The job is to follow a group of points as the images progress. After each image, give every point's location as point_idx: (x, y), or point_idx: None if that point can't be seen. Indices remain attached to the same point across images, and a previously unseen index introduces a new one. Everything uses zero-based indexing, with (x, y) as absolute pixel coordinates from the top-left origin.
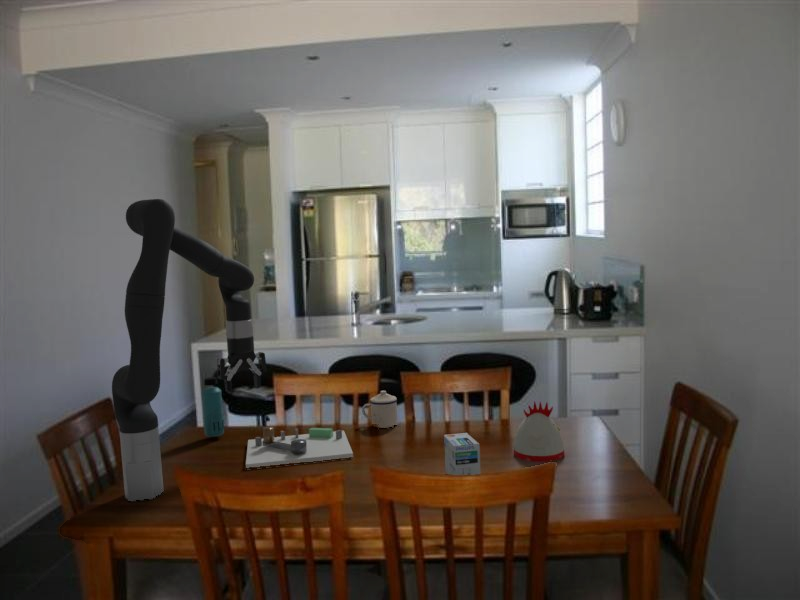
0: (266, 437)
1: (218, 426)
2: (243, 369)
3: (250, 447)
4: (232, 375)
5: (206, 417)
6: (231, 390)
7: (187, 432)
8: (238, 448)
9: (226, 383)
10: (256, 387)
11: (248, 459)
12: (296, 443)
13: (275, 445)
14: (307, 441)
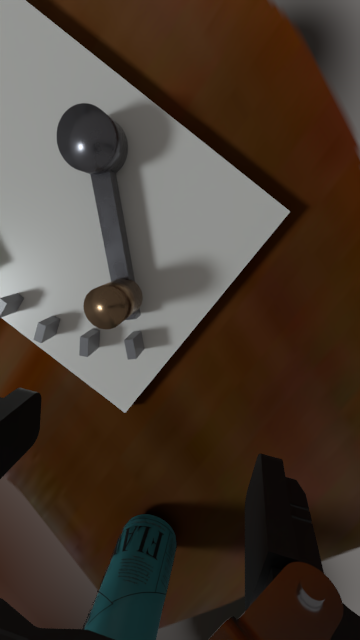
0: (132, 292)
1: (145, 537)
2: (39, 631)
3: (166, 347)
4: (256, 616)
5: (163, 594)
6: (270, 467)
7: (168, 615)
8: (168, 403)
9: (319, 558)
10: (36, 410)
11: (248, 249)
12: (105, 121)
13: (127, 255)
14: (18, 235)
